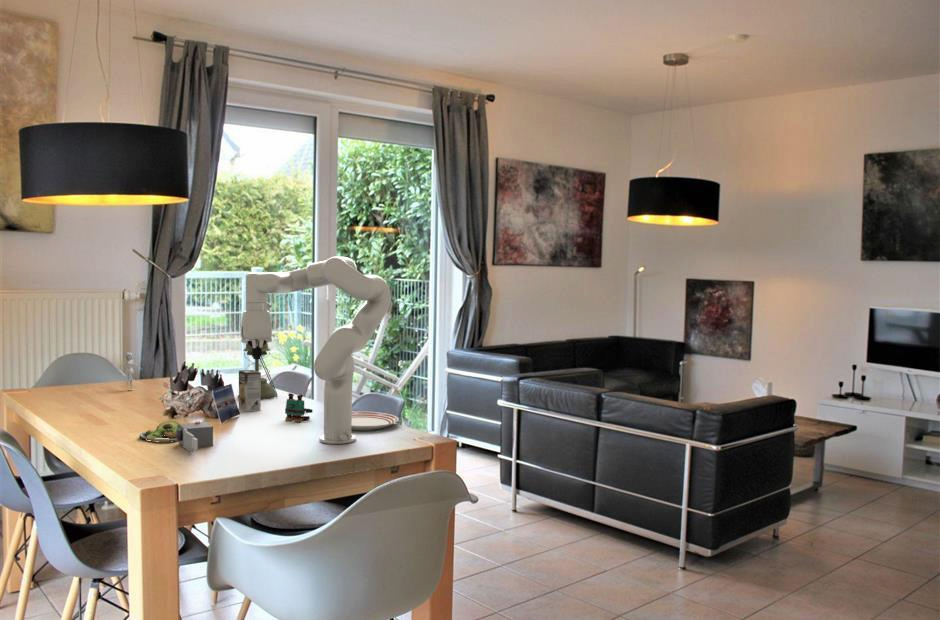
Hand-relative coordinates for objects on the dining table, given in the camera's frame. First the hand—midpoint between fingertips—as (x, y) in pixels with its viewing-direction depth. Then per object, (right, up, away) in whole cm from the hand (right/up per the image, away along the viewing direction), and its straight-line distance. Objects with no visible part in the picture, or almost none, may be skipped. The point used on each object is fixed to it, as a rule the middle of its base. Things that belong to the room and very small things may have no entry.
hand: (256, 358), depth 272 cm
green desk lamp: (-22, -23, +80) cm, 86 cm away
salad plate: (-30, -28, -5) cm, 41 cm away
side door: (-14, -28, -27) cm, 41 cm away
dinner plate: (+35, -27, +21) cm, 49 cm away
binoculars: (+8, -26, +29) cm, 40 cm away
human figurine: (-86, -21, +91) cm, 127 cm away
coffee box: (-17, -25, +49) cm, 57 cm away
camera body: (-16, -28, -15) cm, 35 cm away
